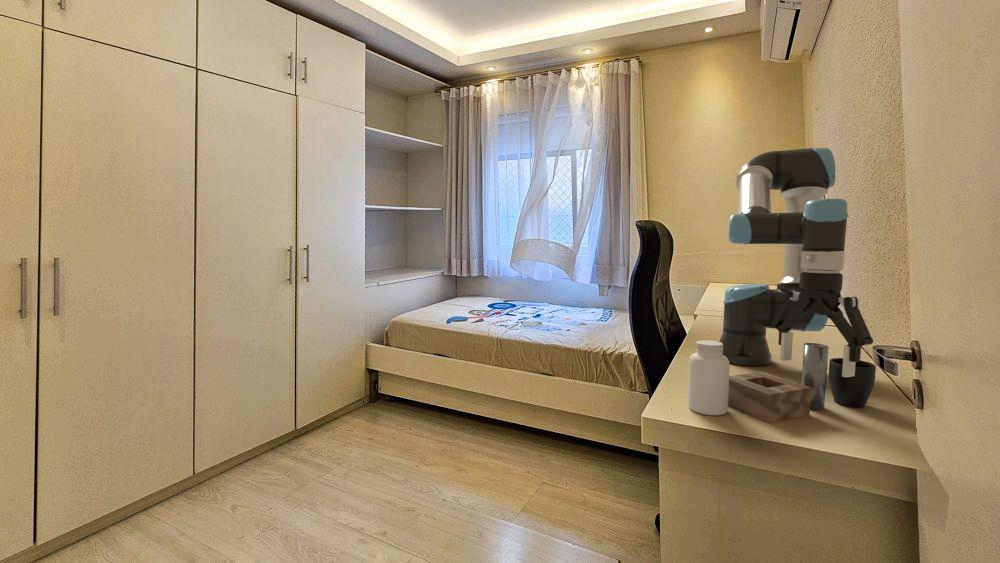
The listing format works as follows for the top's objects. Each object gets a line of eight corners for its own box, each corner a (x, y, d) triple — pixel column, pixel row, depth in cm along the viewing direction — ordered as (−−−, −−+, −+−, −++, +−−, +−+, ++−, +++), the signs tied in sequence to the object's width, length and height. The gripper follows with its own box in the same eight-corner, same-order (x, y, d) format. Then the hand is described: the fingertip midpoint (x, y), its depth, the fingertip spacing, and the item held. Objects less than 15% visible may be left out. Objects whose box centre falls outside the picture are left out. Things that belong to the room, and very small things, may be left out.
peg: (809, 402, 101) (813, 342, 100) (828, 409, 97) (833, 346, 96) (795, 404, 100) (799, 343, 99) (815, 411, 96) (819, 348, 94)
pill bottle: (686, 400, 103) (689, 337, 101) (725, 405, 100) (728, 340, 98) (688, 413, 95) (690, 345, 94) (729, 418, 92) (733, 348, 91)
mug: (878, 399, 103) (881, 359, 102) (869, 413, 95) (872, 370, 94) (835, 390, 109) (837, 353, 108) (822, 403, 101) (825, 362, 100)
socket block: (759, 396, 105) (760, 371, 105) (809, 414, 94) (811, 387, 94) (720, 402, 101) (721, 377, 101) (768, 423, 90) (770, 394, 89)
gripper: (757, 268, 106) (752, 355, 108) (875, 275, 83) (867, 386, 84) (779, 268, 109) (775, 353, 110) (900, 275, 85) (892, 382, 87)
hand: (814, 367), depth 97 cm, fingers open, 13 cm apart
